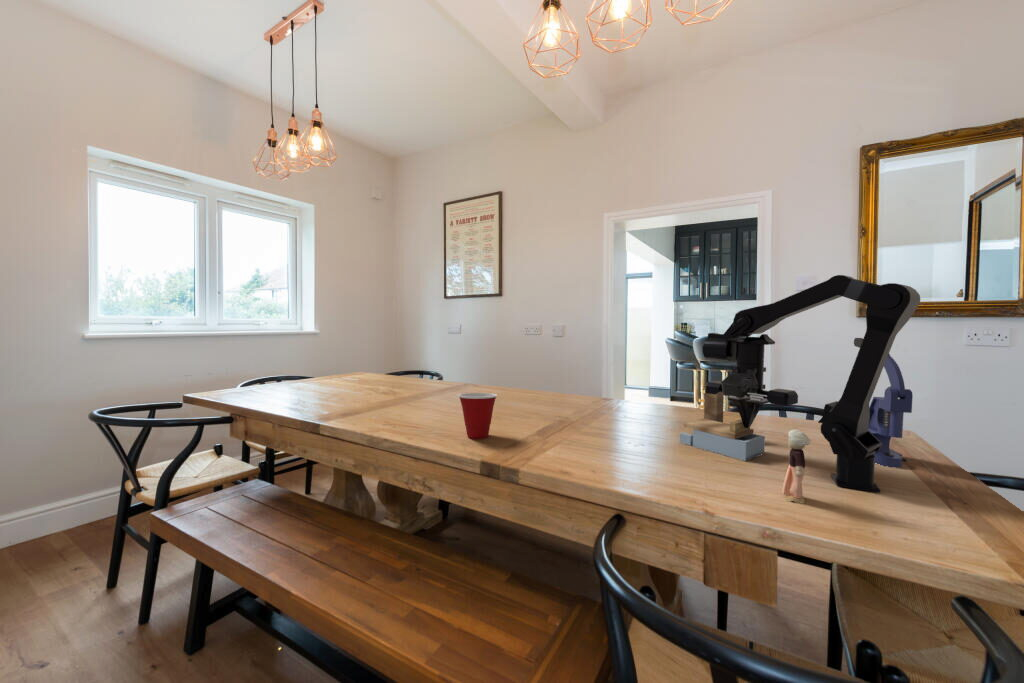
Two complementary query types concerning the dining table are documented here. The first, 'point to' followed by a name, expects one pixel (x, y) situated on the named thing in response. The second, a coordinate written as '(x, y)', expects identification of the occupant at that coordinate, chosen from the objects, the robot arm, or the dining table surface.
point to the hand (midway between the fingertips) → (747, 427)
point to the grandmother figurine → (795, 466)
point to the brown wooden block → (714, 407)
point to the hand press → (889, 413)
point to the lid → (720, 428)
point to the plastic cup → (477, 413)
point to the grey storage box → (726, 444)
